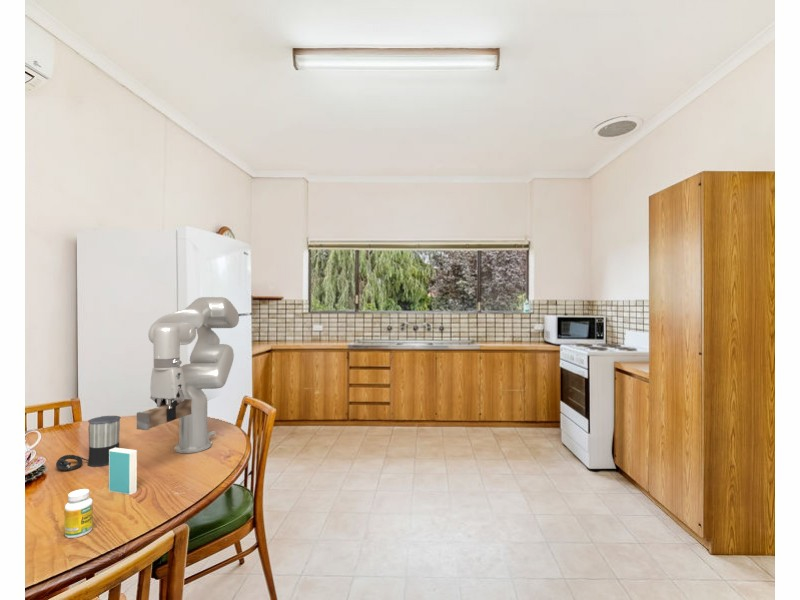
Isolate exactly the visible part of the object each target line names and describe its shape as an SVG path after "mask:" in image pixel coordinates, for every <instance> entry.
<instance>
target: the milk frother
mask: <svg viewBox="0 0 800 600" xmlns="http://www.w3.org/2000/svg"><path fill="white" fill-rule="evenodd" d="M120 419H121V416H120V415H101V416H97V417H93V418H90V419H88V444H89V445H88V459H87V458H84V457H82V456H79V455H76V454H65V455H63V456H61V457H60V458H59V457H58V459H57V460H56V463H55V468H57V469H58V470H62V471H71V470H72V471H73V470H75V469H79V468H80V467H82V465H83V463H84V462H83V461H88V462H87V465H88V466H89V467H104V466H109V450H110V449H113V448H120V424H121V423H120V421H121V420H120ZM67 460H75V461H76V462H77V463H76V464H75V465H71V464H72V462H70V461H67Z"/></svg>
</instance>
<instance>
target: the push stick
mask: <svg viewBox="0 0 800 600" xmlns="http://www.w3.org/2000/svg"><path fill="white" fill-rule="evenodd" d="M167 409H168V403H167V405H164V406H160V407H157V406H156V407H154V408H151V409H148V410H143V411H138V412H136V430H139V431H140V430H142V431H149V430H150V429H152V428H154V427H155V428H156V427H158V426H161V425H163V424H167V423H169V422H172V421H175V420H178V419H179V418H181V417H184V416H187V415H190V414H191V399H184V401H182V402H180V403H179V404H178V406H177V407H176V419H174V420H171V421H167Z"/></svg>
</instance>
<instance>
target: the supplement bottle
mask: <svg viewBox="0 0 800 600" xmlns="http://www.w3.org/2000/svg"><path fill="white" fill-rule="evenodd" d="M67 500H68V502H67V503H66V504H65V506H64V536H65V538H68V539H76V538H81V537H83V536H85V535H87V534H89V533H91V531H92V530H93V528H94V527H93V526H94V525H93V524H94V521H93V519H94V516H93V513H94V511H93V509H94V508H93V505H94V504H93V502H94V501H93V498H91V497H90V489H88V488H82V489H76V490H73V491H71V492H69V493H68V494H67Z"/></svg>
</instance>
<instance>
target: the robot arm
mask: <svg viewBox="0 0 800 600" xmlns="http://www.w3.org/2000/svg"><path fill="white" fill-rule="evenodd" d="M239 321H240V315H239V312H238V310H237V309H236V307H235V306H234V304H233V303H232V302H231V301H230V300H229V299H228V298H226V297H223V296H217V297H215V296H212V297H211V296H203V297H198V298H196V299H194V300H193V301H192V302H191V303H190V304H188V306H187V307H186V308H184V309H181V310H177V311H174V312H171V313H168V314H165V315H163V316H161V317H159V318H158V319H156V320H155V321H154V322H153V324H151V325H150V328H149V330H148V334H147V335H148V340H149V342H150V343H152V344H153V367H152V370H151V377H150V397H149V398H150V400H152V401H153V402H154V403H155V404H156V408H157V407H160V406H164V405H167V404H168V409H167V421H170V422H172V421H171V420H173V421H175V420H177V419H176V407H177V406H178V404H179V403H180V402H182V401H184V399H191V414H190V415H187V416H184V417H181V418H178V419H179V421H178V422H179V425H178V426H179V428H178V431H179V433H178V436H179V439H178V441H179V443H177V444H176V445H175V446H174V451H175V452H176V453H179V454H190V453H191V454H192V453H199V452H202V451H206V450H208V449H210V448H211V447H212V445H213V444H212V443H213V442H212V441H211V440H210V438H211V437H214V436H216V430H212V431H208V397H207V395H206V394H205V392H204V391H203V390H208V389H209V390H212V389H213V390H215V389H221V388H223V387H224V386H225V385H226V383H227V381H228V378H229V375H230V372H231V368H232V367H233V362H234V358H235V354H234V349H233V347H232V346H230V345H229V344H226V343H221V342H220V341H221V340H220V337H219V336H218V334H217V333H216V332H215V331H214V330H212V329H233V328H235V327H237V326H238V324H239ZM196 338H197V339H196ZM195 339H196V342H195V344H194V347H193V348H192V351H191V353H190V355H189V363H186V364H183V365H182V360H181V346H186V345H190V344H191V343H193V342H194V341H195ZM174 419H175V420H174Z"/></svg>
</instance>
